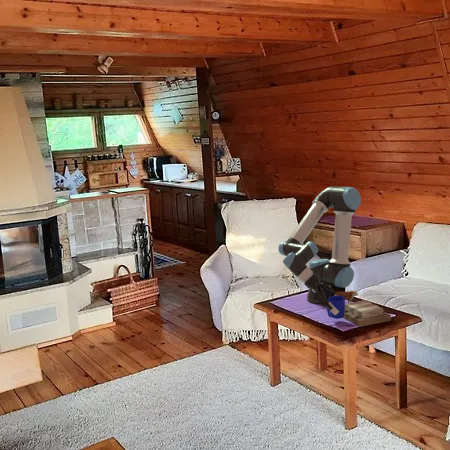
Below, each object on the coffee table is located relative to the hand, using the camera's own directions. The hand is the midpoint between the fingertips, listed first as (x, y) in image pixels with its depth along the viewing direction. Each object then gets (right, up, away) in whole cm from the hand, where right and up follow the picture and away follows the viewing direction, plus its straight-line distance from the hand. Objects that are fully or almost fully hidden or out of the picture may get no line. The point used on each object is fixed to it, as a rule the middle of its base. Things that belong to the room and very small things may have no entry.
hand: (340, 309), depth 281 cm
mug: (-2, -5, +2) cm, 6 cm away
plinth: (+13, -5, +7) cm, 16 cm away
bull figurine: (+9, -2, +30) cm, 31 cm away
